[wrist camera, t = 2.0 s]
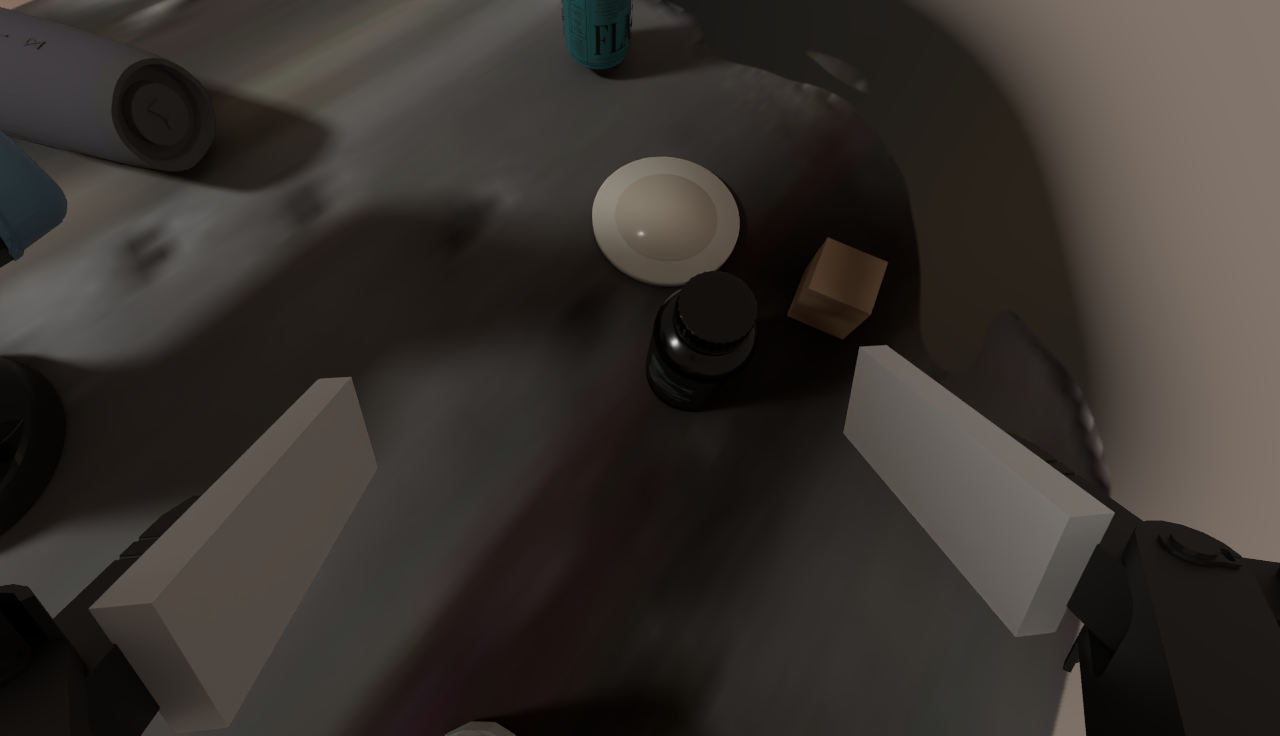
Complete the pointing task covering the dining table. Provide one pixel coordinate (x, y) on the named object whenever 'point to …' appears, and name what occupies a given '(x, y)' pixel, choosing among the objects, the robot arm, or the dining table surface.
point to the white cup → (481, 730)
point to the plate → (665, 221)
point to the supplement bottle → (702, 341)
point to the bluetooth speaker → (99, 96)
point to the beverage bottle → (597, 31)
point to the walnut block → (838, 289)
